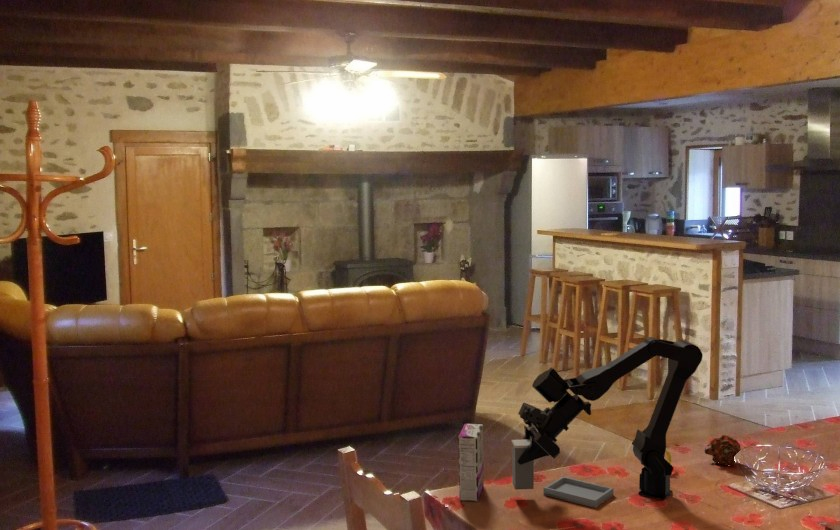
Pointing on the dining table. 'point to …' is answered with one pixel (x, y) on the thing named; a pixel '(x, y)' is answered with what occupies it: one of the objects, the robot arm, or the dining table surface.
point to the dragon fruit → (723, 450)
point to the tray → (578, 491)
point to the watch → (668, 456)
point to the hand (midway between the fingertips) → (517, 459)
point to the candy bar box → (471, 462)
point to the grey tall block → (521, 466)
